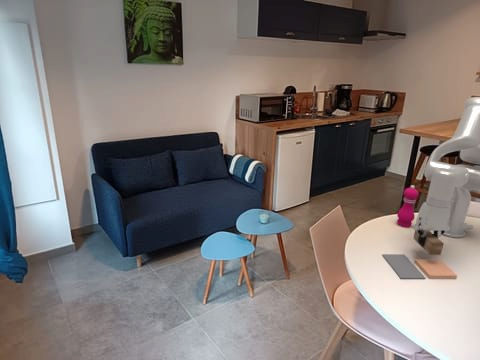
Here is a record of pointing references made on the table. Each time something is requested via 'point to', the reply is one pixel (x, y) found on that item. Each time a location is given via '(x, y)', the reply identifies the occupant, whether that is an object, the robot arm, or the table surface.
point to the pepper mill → (407, 207)
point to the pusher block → (430, 243)
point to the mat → (403, 266)
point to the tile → (435, 269)
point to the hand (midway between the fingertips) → (426, 244)
